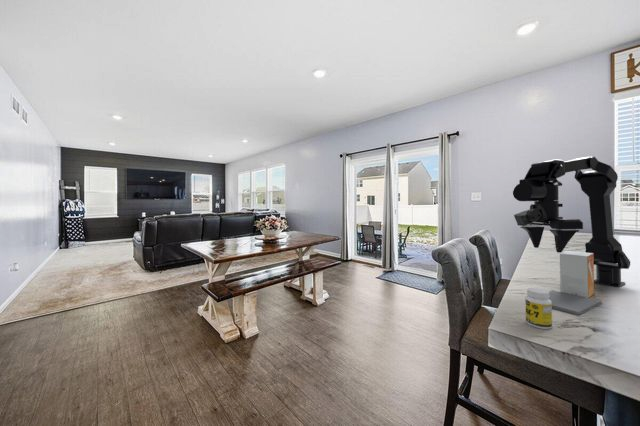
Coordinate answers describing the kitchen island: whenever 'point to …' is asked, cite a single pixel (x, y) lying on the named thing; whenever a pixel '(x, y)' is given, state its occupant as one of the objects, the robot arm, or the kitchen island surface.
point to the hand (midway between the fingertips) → (547, 249)
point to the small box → (577, 273)
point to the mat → (572, 302)
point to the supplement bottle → (538, 308)
